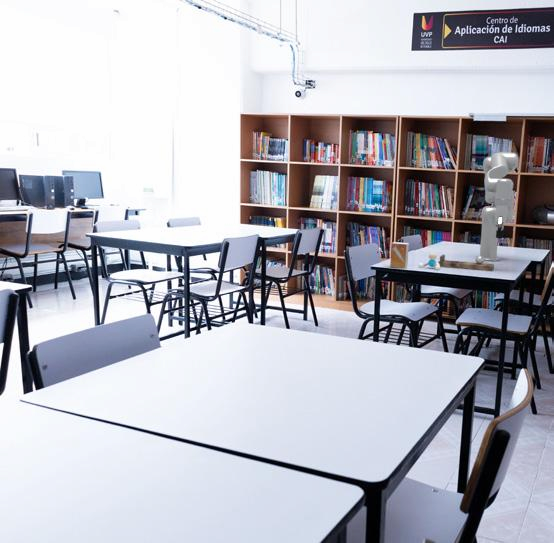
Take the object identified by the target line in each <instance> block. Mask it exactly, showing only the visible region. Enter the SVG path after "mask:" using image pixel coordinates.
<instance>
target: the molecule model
mask: <svg viewBox="0 0 554 543" xmlns="http://www.w3.org/2000/svg"><path fill="white" fill-rule="evenodd" d="M428 258H429V259H430V260H428V262H426V263H425V264H424V263H422V262H420V263H418V265H417V266H418V268H420V269H423V268H424V267H426V266H429V267H430V268H434V269H435V271H440V270H441V267H440V264H439V263H438V262H436V259H437V253H435V252H430V253H429V254H428Z"/></svg>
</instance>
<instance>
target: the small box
mask: <svg viewBox="0 0 554 543" xmlns="http://www.w3.org/2000/svg"><path fill="white" fill-rule="evenodd" d="M409 247H410V242H398V241H393V242H392V243H391V248H390V263H389V264H390V265H389V268H393V267H395V269H402V268H405V269H407V268H408V263H409V262H408V261H409V251H410V250H409Z"/></svg>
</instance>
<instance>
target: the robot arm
mask: <svg viewBox="0 0 554 543" xmlns="http://www.w3.org/2000/svg"><path fill="white" fill-rule="evenodd" d="M518 164H519V157H518V154H517V153H516V152H503V151H502V152H501V151H500V152H495V153H494V154H492V155H491V156H488V157H485V158H484V159H483V162H482V169H483V173H484V190H485V192H484V194H485V195H484V200H485V202H486V203H487V204H490V205H488V206H484V207H482V210H481V234H480V246H479V256H482V257H483V258H484V261H488V262H489V261H490V262H495V261H497V262H498V261H500V258H499V257H497V255H498V246H499V245H498V243H499V242H498V241H499V239H503V237H504V232H505V231H504V230H505V229H504V226H505V224H508V223H512V221H513V218H514V205H515V204H514V202H515V192H514V190H513V189H514V181H513V180H512V179H509V178H505V177H506V176H507V175H508V173H513V172H514V171H515V170H516V169H517V167H518ZM491 204H492V205H491ZM493 204H494V205H493Z"/></svg>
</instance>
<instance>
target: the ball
mask: <svg viewBox="0 0 554 543" xmlns="http://www.w3.org/2000/svg"><path fill="white" fill-rule="evenodd" d="M475 263H477V264H482V263H485V260H484V258H483V257H482V256H480V255H478V256H477V257H475Z"/></svg>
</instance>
